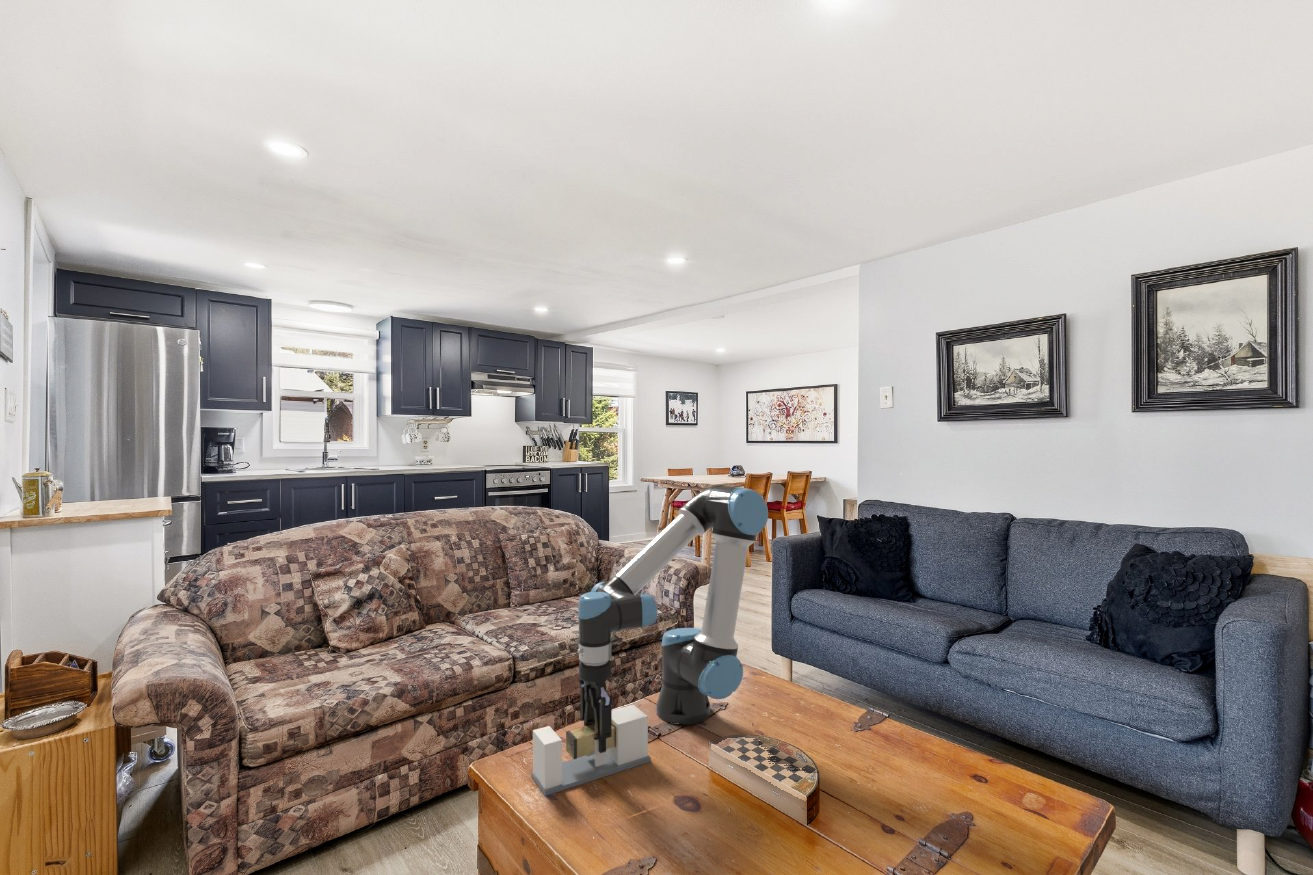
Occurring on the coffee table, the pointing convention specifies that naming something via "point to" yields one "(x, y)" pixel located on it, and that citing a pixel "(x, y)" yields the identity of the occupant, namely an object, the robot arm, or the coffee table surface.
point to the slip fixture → (582, 770)
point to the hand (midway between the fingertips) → (595, 758)
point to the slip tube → (585, 741)
